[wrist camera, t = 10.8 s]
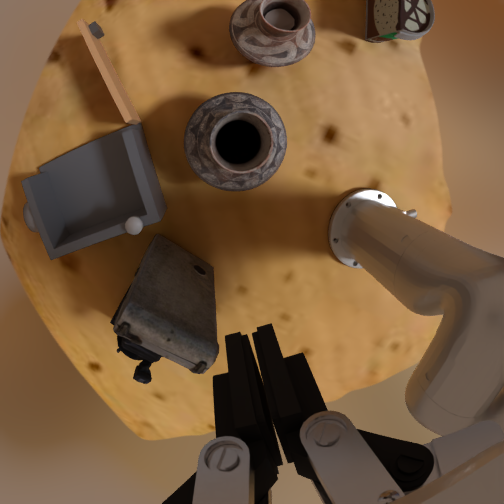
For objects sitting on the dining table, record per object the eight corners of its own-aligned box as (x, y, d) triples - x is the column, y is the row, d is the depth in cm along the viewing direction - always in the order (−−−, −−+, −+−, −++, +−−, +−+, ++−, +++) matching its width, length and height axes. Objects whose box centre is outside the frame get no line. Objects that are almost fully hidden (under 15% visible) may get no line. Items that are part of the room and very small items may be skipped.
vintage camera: (111, 306, 43) (75, 404, 25) (157, 226, 39) (122, 312, 21) (164, 333, 46) (153, 436, 28) (215, 262, 43) (226, 362, 25)
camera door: (148, 117, 33) (139, 114, 28) (136, 124, 33) (125, 122, 28) (102, 26, 27) (89, 13, 22) (90, 34, 27) (76, 22, 22)
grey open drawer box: (141, 122, 34) (127, 119, 27) (168, 210, 39) (160, 226, 32) (32, 172, 33) (5, 180, 26) (60, 249, 38) (39, 269, 31)
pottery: (310, 29, 32) (346, -2, 21) (260, 192, 40) (282, 214, 29) (231, 4, 29) (243, -39, 18) (177, 172, 37) (166, 186, 26)
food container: (397, 61, 35) (439, 51, 26) (364, 48, 34) (403, 33, 25) (398, 2, 31) (434, -16, 22) (366, -12, 30) (399, -35, 20)
